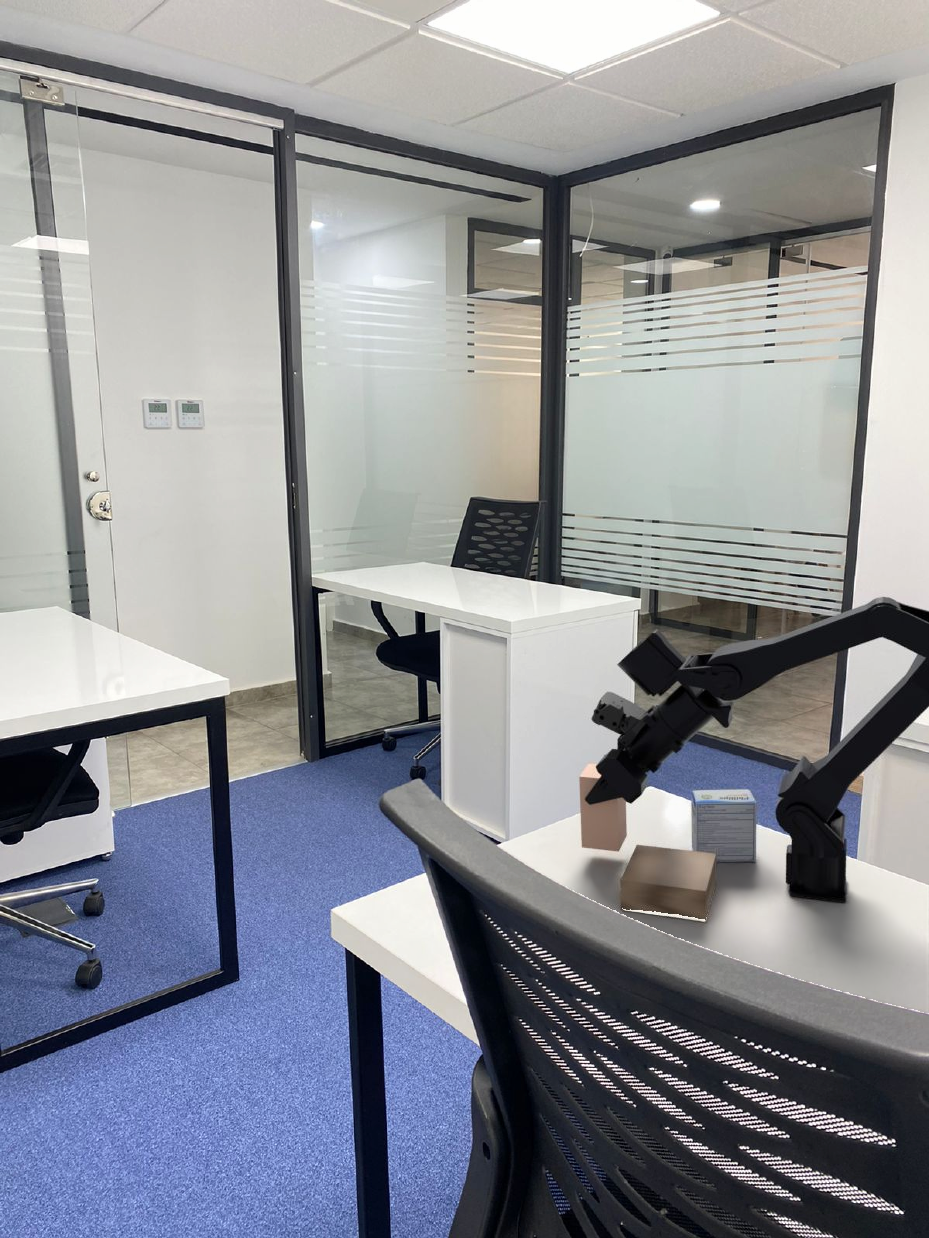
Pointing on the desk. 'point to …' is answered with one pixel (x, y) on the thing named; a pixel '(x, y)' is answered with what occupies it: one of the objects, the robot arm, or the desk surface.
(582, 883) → the desk surface
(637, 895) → the walnut base
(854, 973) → the desk surface
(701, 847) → the medicine box
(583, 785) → the terracotta block
